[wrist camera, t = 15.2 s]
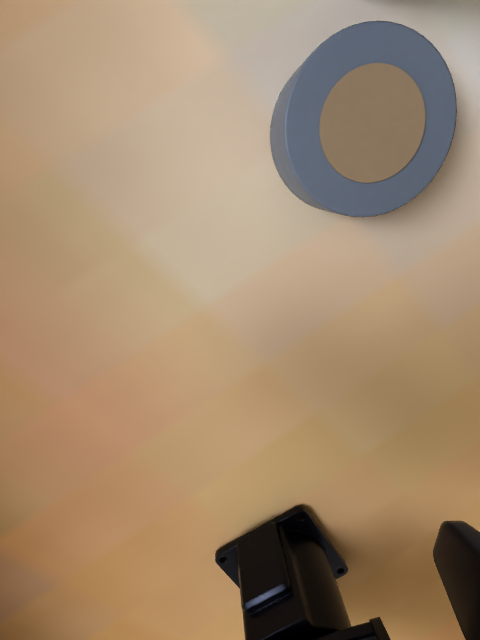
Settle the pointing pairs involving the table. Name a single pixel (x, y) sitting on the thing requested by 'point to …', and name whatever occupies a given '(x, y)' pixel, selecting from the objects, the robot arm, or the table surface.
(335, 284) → the table surface
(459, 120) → the table surface
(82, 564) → the table surface
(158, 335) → the table surface
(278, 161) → the tape roll
